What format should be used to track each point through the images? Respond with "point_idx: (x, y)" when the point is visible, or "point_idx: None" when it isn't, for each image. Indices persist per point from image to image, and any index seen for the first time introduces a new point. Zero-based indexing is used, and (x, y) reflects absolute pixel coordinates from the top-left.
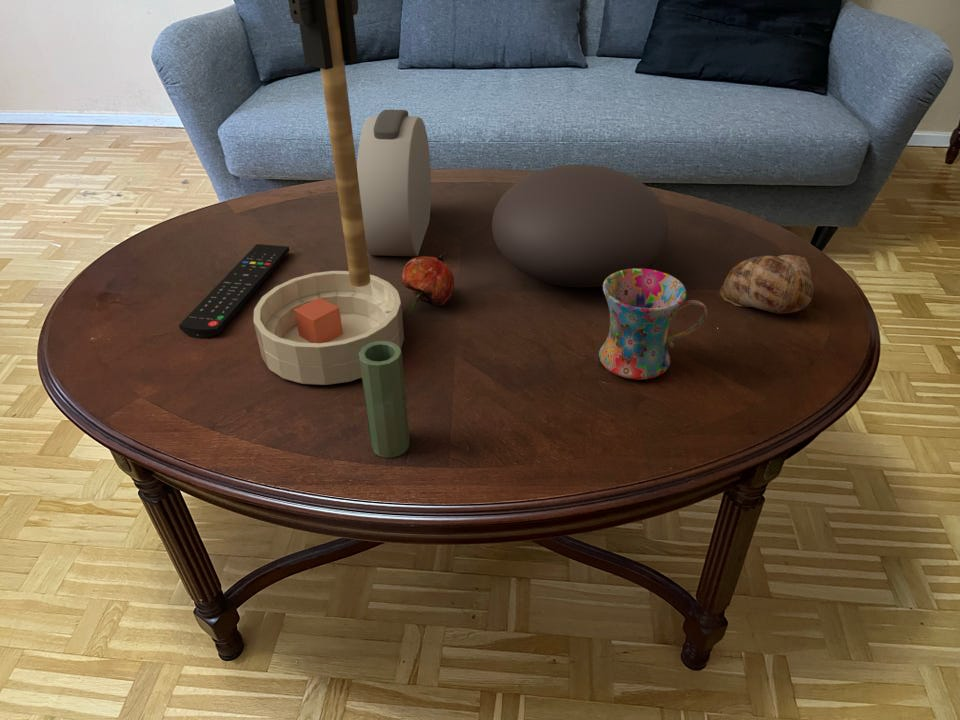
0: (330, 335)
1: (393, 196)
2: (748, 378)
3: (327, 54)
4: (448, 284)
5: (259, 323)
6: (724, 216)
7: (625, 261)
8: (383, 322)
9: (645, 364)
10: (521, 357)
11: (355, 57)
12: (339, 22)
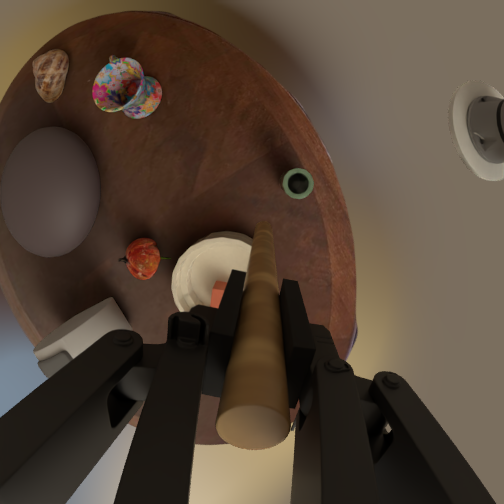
0: (226, 283)
1: (102, 324)
2: (128, 45)
3: (292, 287)
4: (141, 239)
5: None
6: None
7: (73, 133)
8: (219, 241)
9: (152, 81)
10: (170, 159)
11: (236, 272)
12: (238, 313)
